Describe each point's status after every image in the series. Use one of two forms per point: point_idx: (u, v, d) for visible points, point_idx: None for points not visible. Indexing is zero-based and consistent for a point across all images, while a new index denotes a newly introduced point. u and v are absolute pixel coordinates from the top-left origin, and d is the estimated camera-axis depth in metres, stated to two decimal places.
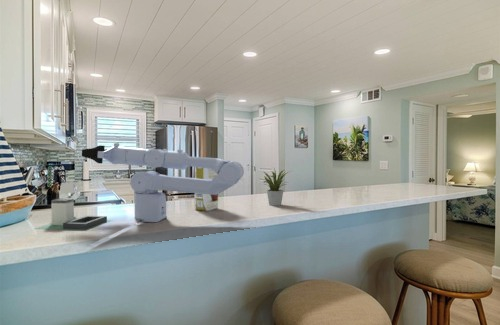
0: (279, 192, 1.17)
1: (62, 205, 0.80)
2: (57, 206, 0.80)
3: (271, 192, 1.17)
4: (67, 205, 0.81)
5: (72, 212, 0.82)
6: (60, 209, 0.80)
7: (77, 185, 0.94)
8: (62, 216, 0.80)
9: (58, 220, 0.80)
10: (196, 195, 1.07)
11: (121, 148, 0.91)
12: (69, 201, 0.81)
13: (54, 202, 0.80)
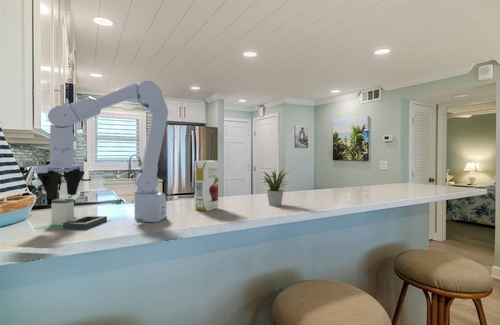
0: (279, 192, 1.17)
1: (62, 205, 0.80)
2: (57, 206, 0.80)
3: (271, 192, 1.17)
4: (67, 205, 0.81)
5: (72, 212, 0.82)
6: (60, 209, 0.80)
7: None
8: (62, 216, 0.80)
9: (58, 220, 0.80)
10: (196, 195, 1.07)
11: (50, 156, 0.80)
12: (69, 201, 0.81)
13: (54, 202, 0.80)
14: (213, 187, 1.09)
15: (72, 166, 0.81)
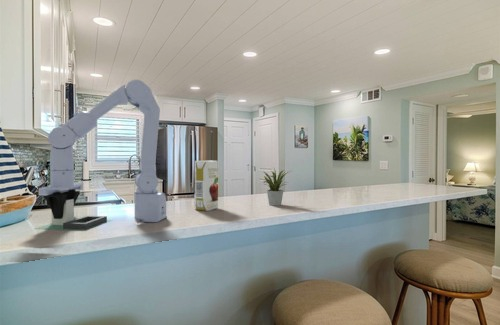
0: (279, 192, 1.17)
1: None
2: None
3: (271, 192, 1.17)
4: (67, 205, 0.81)
5: (72, 212, 0.82)
6: None
7: None
8: None
9: (58, 220, 0.80)
10: (196, 195, 1.07)
11: None
12: (69, 201, 0.81)
13: None
14: (213, 187, 1.09)
15: (72, 187, 0.82)
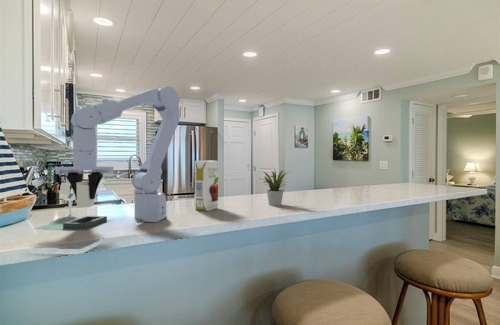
0: (279, 192, 1.17)
1: None
2: None
3: (271, 192, 1.17)
4: (78, 187, 0.78)
5: (86, 196, 0.79)
6: None
7: None
8: None
9: None
10: (196, 195, 1.07)
11: None
12: (81, 184, 0.78)
13: None
14: (213, 187, 1.09)
15: (81, 169, 0.77)
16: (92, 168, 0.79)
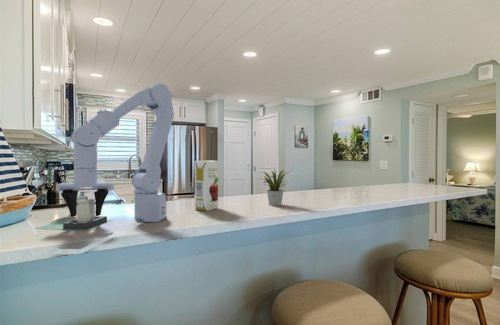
0: (279, 192, 1.17)
1: None
2: None
3: (271, 192, 1.17)
4: (79, 206, 0.78)
5: (86, 215, 0.79)
6: None
7: None
8: None
9: None
10: (196, 195, 1.07)
11: None
12: (82, 203, 0.78)
13: None
14: (213, 187, 1.09)
15: (82, 186, 0.77)
16: (93, 185, 0.79)
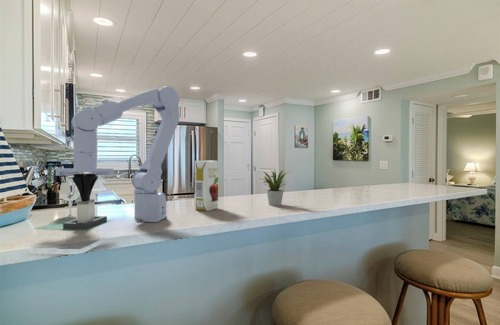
0: (279, 192, 1.17)
1: None
2: None
3: (271, 192, 1.17)
4: (79, 207, 0.78)
5: (86, 215, 0.79)
6: None
7: None
8: None
9: None
10: (196, 195, 1.07)
11: None
12: (82, 203, 0.78)
13: None
14: (213, 187, 1.09)
15: (82, 170, 0.77)
16: (92, 170, 0.79)
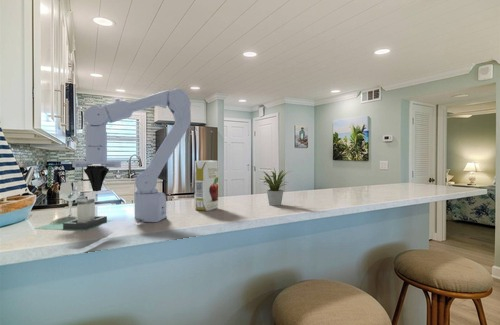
0: (279, 192, 1.17)
1: None
2: None
3: (271, 192, 1.17)
4: (79, 206, 0.78)
5: (86, 215, 0.79)
6: None
7: (77, 185, 0.94)
8: None
9: None
10: (196, 195, 1.07)
11: None
12: (82, 203, 0.78)
13: None
14: (213, 187, 1.09)
15: (90, 162, 0.84)
16: (100, 162, 0.84)
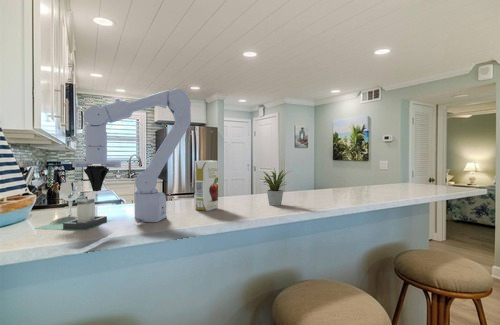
0: (279, 192, 1.17)
1: None
2: None
3: (271, 192, 1.17)
4: (79, 206, 0.78)
5: (86, 215, 0.79)
6: None
7: (77, 185, 0.94)
8: None
9: None
10: (196, 195, 1.07)
11: None
12: (82, 203, 0.78)
13: None
14: (213, 187, 1.09)
15: (90, 162, 0.84)
16: (100, 162, 0.84)
